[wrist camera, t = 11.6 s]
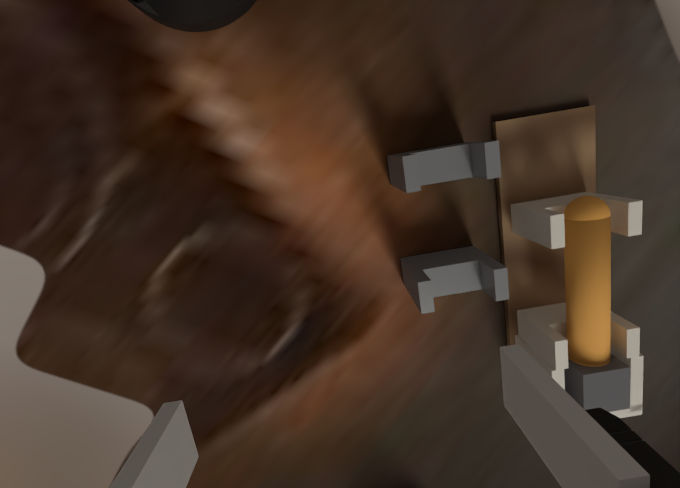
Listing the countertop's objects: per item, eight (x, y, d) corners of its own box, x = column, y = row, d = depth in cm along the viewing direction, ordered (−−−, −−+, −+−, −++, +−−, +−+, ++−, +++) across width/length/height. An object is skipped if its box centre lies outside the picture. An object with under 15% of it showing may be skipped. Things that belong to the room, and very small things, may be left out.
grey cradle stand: (386, 155, 40) (402, 156, 32) (464, 142, 40) (498, 140, 32) (403, 283, 43) (421, 313, 35) (475, 271, 43) (509, 299, 35)
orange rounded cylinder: (550, 197, 36) (580, 204, 32) (596, 190, 36) (632, 195, 32) (557, 388, 41) (583, 416, 37) (598, 381, 41) (629, 408, 37)
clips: (506, 205, 41) (545, 216, 34) (590, 191, 41) (647, 199, 34) (518, 385, 46) (554, 429, 39) (592, 373, 46) (642, 414, 39)
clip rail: (492, 122, 40) (495, 121, 39) (589, 106, 40) (595, 105, 39) (509, 382, 47) (513, 386, 46) (592, 368, 47) (597, 372, 46)
